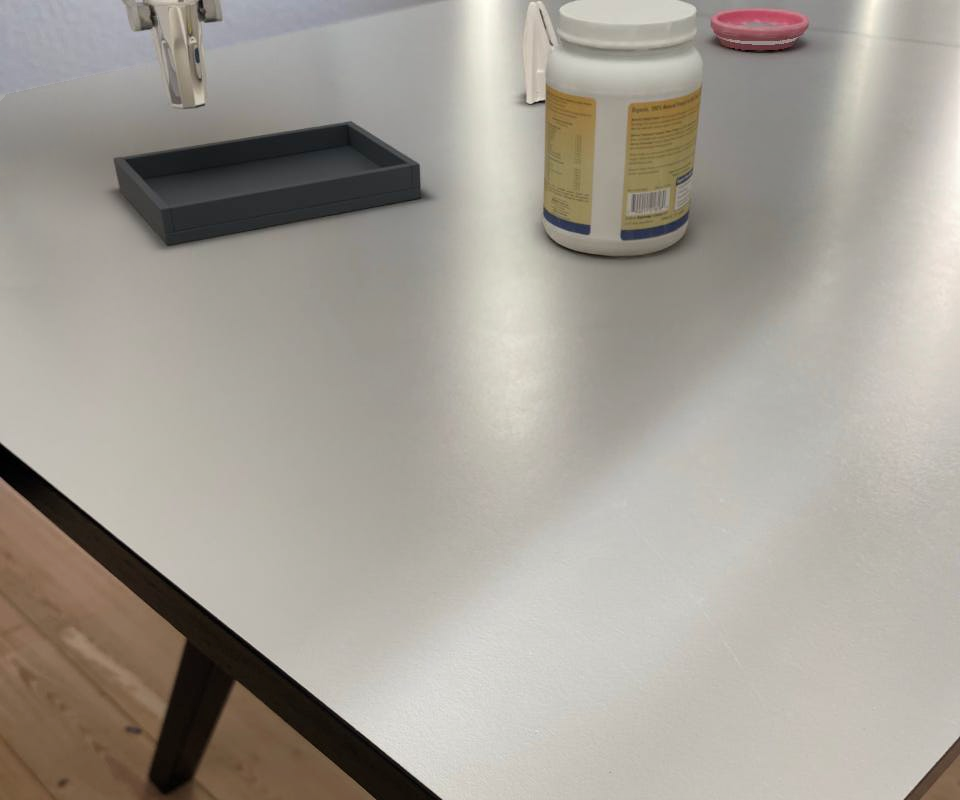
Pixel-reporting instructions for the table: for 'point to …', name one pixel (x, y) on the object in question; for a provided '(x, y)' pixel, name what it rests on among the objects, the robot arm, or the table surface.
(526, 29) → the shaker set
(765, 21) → the saucer
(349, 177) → the tray
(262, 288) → the table surface
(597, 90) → the supplement tub
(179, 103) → the milkshake
